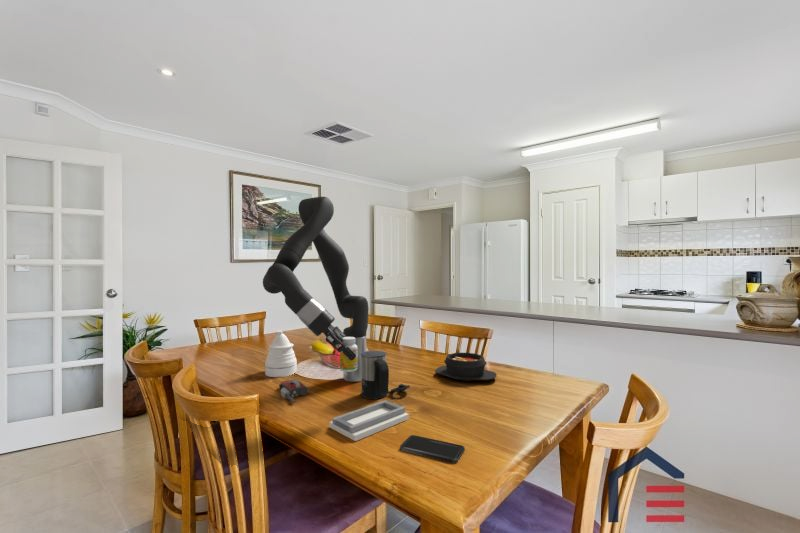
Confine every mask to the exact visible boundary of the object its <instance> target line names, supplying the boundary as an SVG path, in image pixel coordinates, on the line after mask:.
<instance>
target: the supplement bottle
mask: <svg viewBox="0 0 800 533" xmlns="http://www.w3.org/2000/svg"><path fill="white" fill-rule="evenodd" d="M343 339H344V342H345V344H346V345H347V346H348V347H349V348H350V349H351V350H352V351H353V352H354V353H355V354H356V357H355V358H354V359H353V360H352V361H351V360H350V359H349V358H348V357H347V356H346V355H345V354H344V353H343V352H339V370H340V371H341V372H343V371H344V372H351V371H355V370H357V367H358V347H357V345H356V344H355V337H343Z"/></svg>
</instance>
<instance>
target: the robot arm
mask: <svg viewBox="0 0 800 533" xmlns="http://www.w3.org/2000/svg"><path fill="white" fill-rule="evenodd" d="M334 208H335V207H334V204H333V202H332V200H331V199H330V198H329V197H327V196H314V197H308V198H304V199H301V201H300V202H299V204H298V214H299V218H300V221H301V222H302V224H303V225H302V226H301V227H300V228H298V229H297V230H296V231H295V232H294V233H292V234H291V235H290V236H289V237H288V238H287V239H286V241H285V242H284V244H283V246H282V247H281V249H280V250H279V252H278V254H277V256H276V258H275V260H274V262H273V263H272V265H270V266H269V267H268V269H267V270H266V273H265V274H264V276H263V279H262V286H263V289H264V290H265V291H266V292H267V293H268V294H269V293H270V294H279V293H282V295H283V296H284V303H285V305H286V306H287V307H288V308H289V309H290V310H291V311H292V312H293V313H294V314H295V315H296V316H297V317H298V319H299V320H300V321H301V322H302V323H303V324H304V325H305V326H306V328H308V329H309V330H310V331H311V332H312V333H313V334H314V335H315V336H316V337H319V336H320V335H321V334H323V335H324V336H325V341H326V342H327V343H328V344H329V345H330V346H332V348H334V349H335V350H336V351H337V353H340V352H343V353H344V354H345V355H346V356H347V357H348V358H349V359H350V360H351V361H352V360H353V359H354V358H355V357H356V354H355V353H354V352H353V351H352V350H351V349H350V348H349V347H348V346H347V345H346V344H345V342H344V339H343V337H355V344H356V345H357V347H358V367H357V370H355V371H351V372H344V371H342V372H343V378H344V379H343V380H344V381H346V382H362V366H361V353H362V352H366V351H367V330H368V326H369V310H370V309H369V302H368V300H367V298H366V297H365V296H361V295H351V293H350V291H349V288H348V286H347V279H348V276H349V272H350V271H349V270H350V267H349V266H350V265H349V262H348V260H347V256H346V254H345V252H344V250H343V248H342V247H341V246H340V245H339V244H338V243H337V242H336V241H335V240H334V239H333V238H332V237H331V236H329V235H328V233H327V232H326V230H325V229H324V228H325V227H326V226H327V225H328V224H329V223H330V221H331V220H332V218H333V216H334V212H335V209H334ZM312 243H313V245H314V248H315V250H316V252H317V255H318V257H319V260H320V261H321V262H320V263H321V264H322V266H323V267H322V268H323V270H324V271H325V274H326V276H327V279H328V281H329V284H330V286H331V290H332V293H333V295H334V299H335V303H336V305H337V310H338V312H339V314H340V315H341V317H343V318H345V319H352V323H351V325H350V326H347V327H345V328H344V329H343V330H341V329H340V327H338V326H337V325H336V326H334V325H332V323H333V322H334V321H335V317H334V316H333V315H332V314H331V313H330V312H329V311H328V310H327V309H326V308H325V307H324V306H323V305H322V304H321V303H320V302H318V301H317V300H316V299H315V298H314V297H313V296H311V294H310V293H309V292H307V290H305V288H303V285H302V284H301V282H300V280H299V279H298V278H297V276H296V275H295V273H294V271H295V269H296V268H297V267H298V266H299V264H300V263H301V260H302V259H303V257H304V256H305V254H306V252H307V250H308V249H309V247H310V245H311V244H312Z"/></svg>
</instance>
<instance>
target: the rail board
mask: <svg viewBox="0 0 800 533" xmlns="http://www.w3.org/2000/svg"><path fill="white" fill-rule="evenodd" d="M409 419H410V414H409V413H407V412H406V407H405V406H401V405H399V404H397V403H395V402H392V401H388V400H386V399H385V400H382V401H379V402H376V403H373V404H370V405H366V406H364V407H361V408H358V409H355V410H353V411H350V412H347V413H344V414H341V415H338V416H336V417H333V418H332V419H331V421H329V422H328V423H329V425H328V426H329V428H330V429H332V430H334V431H335V432H338V433H339V434H341V435H343V436H345V437H346V438H348V439H351V440H352V441H354V442H358V441H359V440H362V439H364V438H366V437H369V436H372V435H374V434H377V433H379V432H381V431H384V430H386V429H389V428H391V427H393V426H396V425H398V424H400V423H402V422H405V421H407V420H409Z"/></svg>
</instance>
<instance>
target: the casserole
mask: <svg viewBox="0 0 800 533" xmlns="http://www.w3.org/2000/svg"><path fill="white" fill-rule="evenodd" d="M443 362H444V363H445V365H442V366H439V367H437V368H436V369H434V372H435V373H436V374H438V375H442V376H445V377H448V378H450V379H453V380H457V381H460V380H461V381H463V382H472V381H489V380H492V379H496V377H497V375H498V374H497V373H496V372H495V371H491V370H487V369H485V367H486V365H487V361H486V359H485V357H484V356H483V355H481V354H478V353H475V352H474V353H473V352H453V353H449V354H447V355H446V357H445V360H444V361H443Z"/></svg>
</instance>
